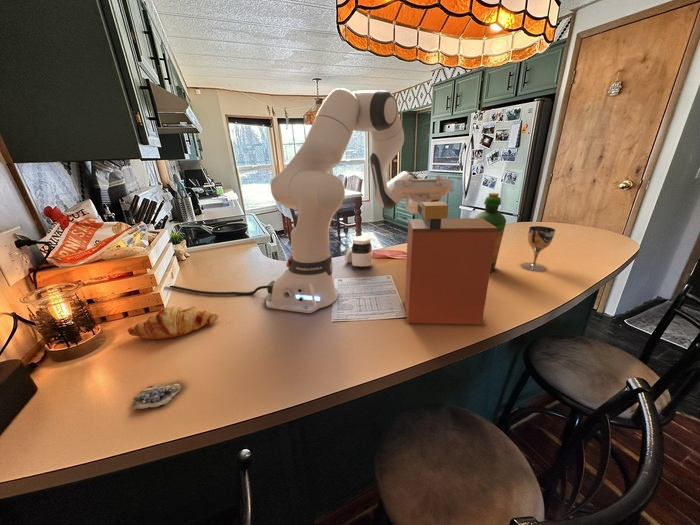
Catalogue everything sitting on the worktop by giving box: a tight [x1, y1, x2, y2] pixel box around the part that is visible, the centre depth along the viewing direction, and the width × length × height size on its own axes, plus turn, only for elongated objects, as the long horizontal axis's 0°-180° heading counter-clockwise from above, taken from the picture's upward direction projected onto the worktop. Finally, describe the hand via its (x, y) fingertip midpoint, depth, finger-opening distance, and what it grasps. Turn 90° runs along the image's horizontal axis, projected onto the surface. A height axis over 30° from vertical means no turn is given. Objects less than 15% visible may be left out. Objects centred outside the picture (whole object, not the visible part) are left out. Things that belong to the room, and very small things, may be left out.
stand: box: [404, 217, 497, 325], centre depth 73 cm, size 19×10×26 cm, turn 85°
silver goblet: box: [522, 225, 556, 272], centre depth 103 cm, size 8×8×15 cm
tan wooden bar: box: [418, 201, 449, 229], centre depth 73 cm, size 5×21×5 cm, turn 175°
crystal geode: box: [131, 383, 182, 410], centre depth 54 cm, size 7×8×2 cm
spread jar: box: [344, 235, 373, 270], centre depth 112 cm, size 12×11×12 cm
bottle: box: [474, 192, 507, 272], centre depth 101 cm, size 11×11×28 cm
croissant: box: [127, 306, 219, 340], centre depth 74 cm, size 21×10×8 cm, turn 111°
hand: (425, 177), depth 94 cm, fingers open, 8 cm apart
